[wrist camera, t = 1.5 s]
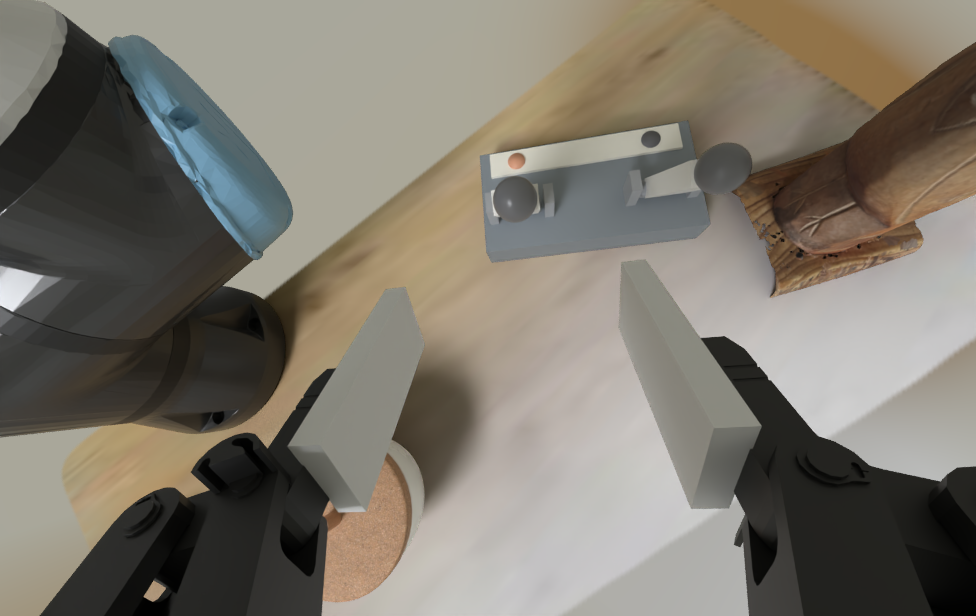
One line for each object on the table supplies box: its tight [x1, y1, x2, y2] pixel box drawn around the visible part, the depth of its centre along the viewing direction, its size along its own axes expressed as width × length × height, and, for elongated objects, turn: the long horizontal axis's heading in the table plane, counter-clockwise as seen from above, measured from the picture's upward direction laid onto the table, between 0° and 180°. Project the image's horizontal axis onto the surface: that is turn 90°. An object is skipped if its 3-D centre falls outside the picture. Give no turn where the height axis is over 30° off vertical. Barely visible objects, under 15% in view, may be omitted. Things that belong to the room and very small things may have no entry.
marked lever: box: [491, 176, 541, 223], centre depth 26 cm, size 3×4×12 cm
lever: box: [639, 143, 752, 198], centre depth 24 cm, size 3×4×12 cm
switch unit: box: [480, 121, 710, 263], centre depth 32 cm, size 10×19×6 cm, turn 94°
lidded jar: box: [323, 440, 424, 602], centre depth 28 cm, size 11×11×9 cm
